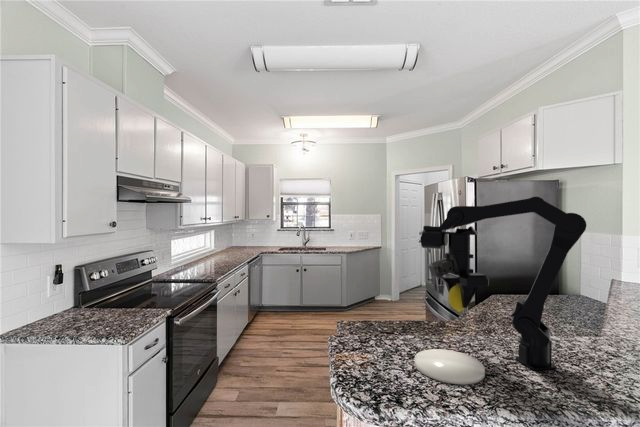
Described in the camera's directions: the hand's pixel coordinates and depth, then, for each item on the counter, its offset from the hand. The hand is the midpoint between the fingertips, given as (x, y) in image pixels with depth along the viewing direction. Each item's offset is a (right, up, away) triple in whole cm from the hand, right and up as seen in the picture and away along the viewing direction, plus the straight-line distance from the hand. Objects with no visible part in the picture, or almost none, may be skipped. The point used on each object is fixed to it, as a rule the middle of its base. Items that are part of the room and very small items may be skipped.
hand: (458, 304), depth 93 cm
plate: (-8, -12, -13) cm, 19 cm away
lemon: (0, -2, 0) cm, 2 cm away
